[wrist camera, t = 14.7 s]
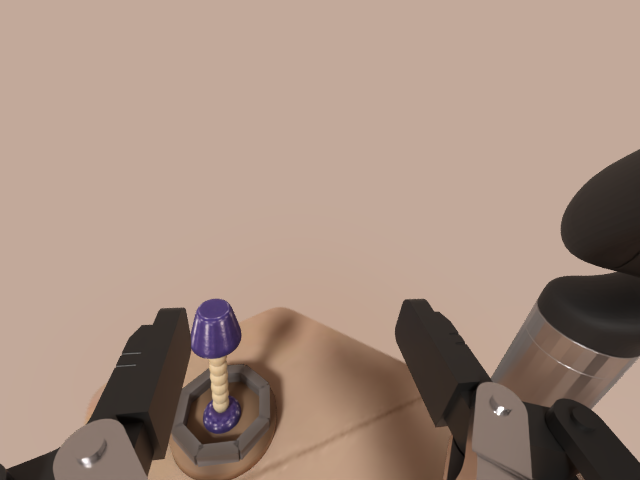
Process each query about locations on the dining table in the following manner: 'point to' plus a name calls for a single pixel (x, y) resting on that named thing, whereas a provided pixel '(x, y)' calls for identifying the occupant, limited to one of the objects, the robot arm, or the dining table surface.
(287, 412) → the dining table surface
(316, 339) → the dining table surface
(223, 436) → the plinth
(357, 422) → the dining table surface
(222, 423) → the toy lamp
